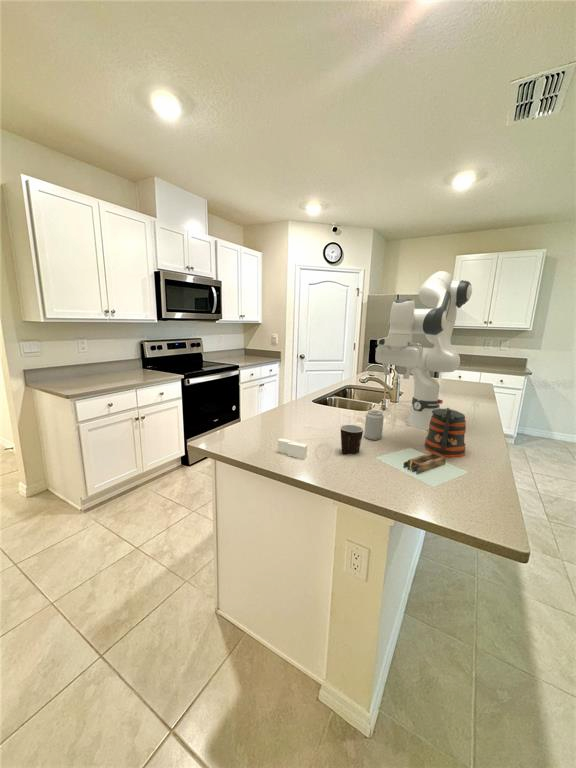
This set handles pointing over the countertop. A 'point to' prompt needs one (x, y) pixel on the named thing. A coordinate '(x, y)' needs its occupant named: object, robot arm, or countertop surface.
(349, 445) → the coffee mug
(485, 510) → the countertop surface
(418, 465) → the dark brown long piece
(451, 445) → the striped backpack
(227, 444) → the countertop surface
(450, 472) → the wall panel
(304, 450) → the napkin holder
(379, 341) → the robot arm
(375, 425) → the can
